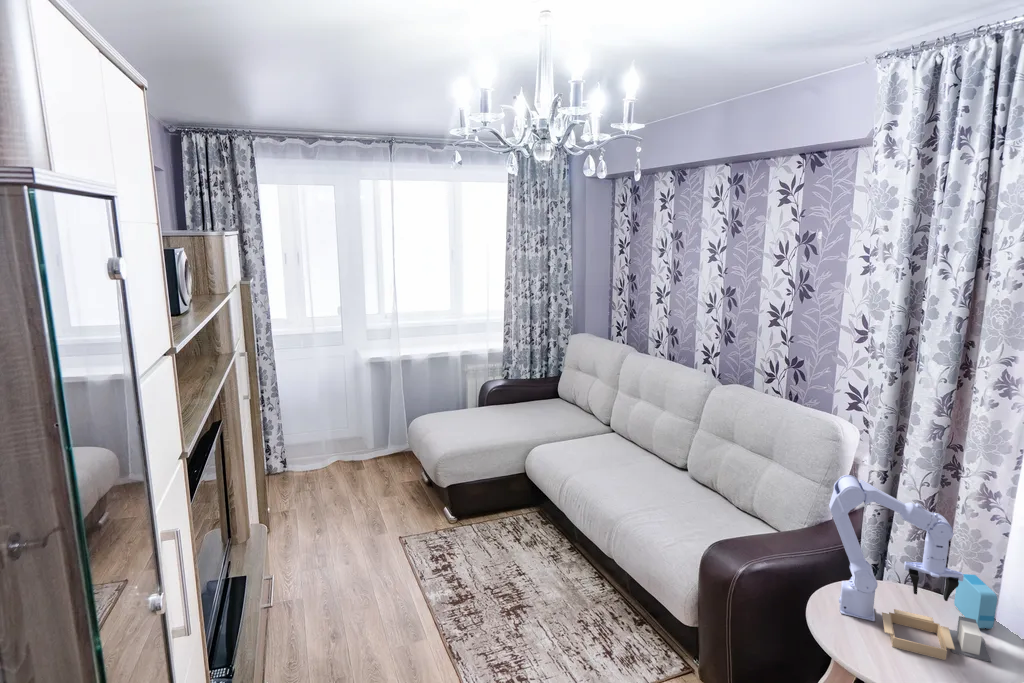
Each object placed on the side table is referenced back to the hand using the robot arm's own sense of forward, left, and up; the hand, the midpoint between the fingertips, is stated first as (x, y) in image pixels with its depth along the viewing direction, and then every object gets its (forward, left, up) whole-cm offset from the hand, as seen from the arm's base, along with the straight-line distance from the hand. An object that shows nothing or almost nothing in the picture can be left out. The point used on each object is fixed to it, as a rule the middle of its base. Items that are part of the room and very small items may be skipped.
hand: (930, 595), depth 183 cm
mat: (+9, -7, -9) cm, 15 cm away
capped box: (+9, -7, -9) cm, 14 cm away
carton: (-4, -9, -9) cm, 14 cm away
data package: (+13, +9, -10) cm, 19 cm away
